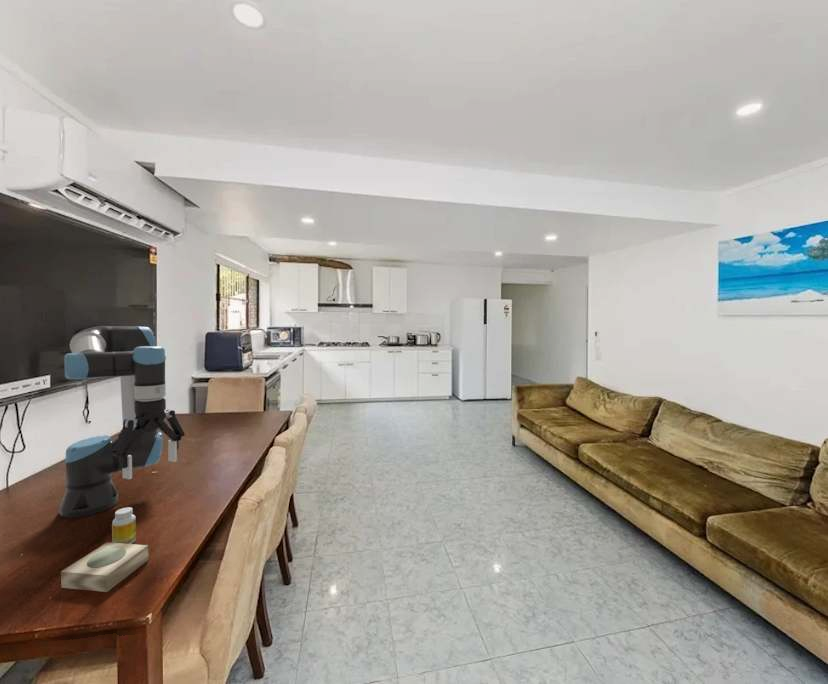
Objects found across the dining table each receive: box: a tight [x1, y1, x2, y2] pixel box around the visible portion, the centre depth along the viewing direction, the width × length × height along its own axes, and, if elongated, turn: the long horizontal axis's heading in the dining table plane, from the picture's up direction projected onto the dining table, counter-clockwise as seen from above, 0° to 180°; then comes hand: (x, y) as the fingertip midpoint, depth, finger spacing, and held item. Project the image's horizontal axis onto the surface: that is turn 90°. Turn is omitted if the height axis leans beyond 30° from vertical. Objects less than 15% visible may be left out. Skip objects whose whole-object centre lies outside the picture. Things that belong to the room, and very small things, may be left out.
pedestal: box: [60, 541, 149, 593], centre depth 93 cm, size 12×12×4 cm
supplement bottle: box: [111, 506, 137, 544], centre depth 106 cm, size 5×5×10 cm
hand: (151, 469), depth 109 cm, fingers open, 13 cm apart
